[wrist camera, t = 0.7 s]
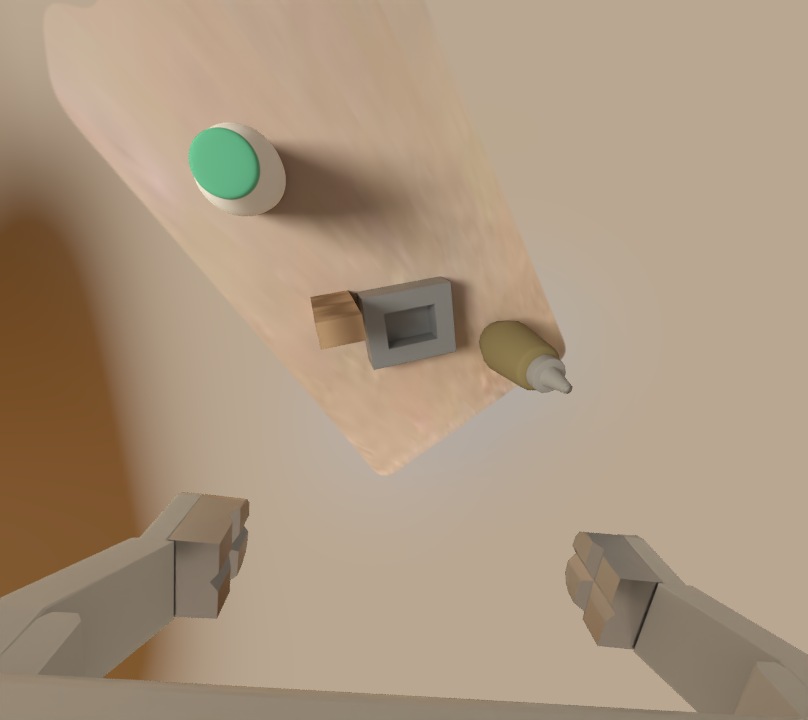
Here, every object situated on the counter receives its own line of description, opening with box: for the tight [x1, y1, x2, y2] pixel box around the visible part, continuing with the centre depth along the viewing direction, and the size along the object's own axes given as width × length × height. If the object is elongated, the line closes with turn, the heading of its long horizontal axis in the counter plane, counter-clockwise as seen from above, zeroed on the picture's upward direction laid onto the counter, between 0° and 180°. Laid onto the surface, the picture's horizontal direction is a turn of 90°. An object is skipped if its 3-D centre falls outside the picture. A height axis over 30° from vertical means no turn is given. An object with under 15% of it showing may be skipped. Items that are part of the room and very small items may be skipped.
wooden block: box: [311, 290, 366, 349], centre depth 48 cm, size 5×3×12 cm, turn 98°
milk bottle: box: [189, 123, 286, 216], centre depth 36 cm, size 8×8×20 cm
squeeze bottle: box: [479, 321, 572, 394], centre depth 54 cm, size 8×8×18 cm
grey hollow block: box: [357, 277, 456, 370], centre depth 55 cm, size 12×10×4 cm
